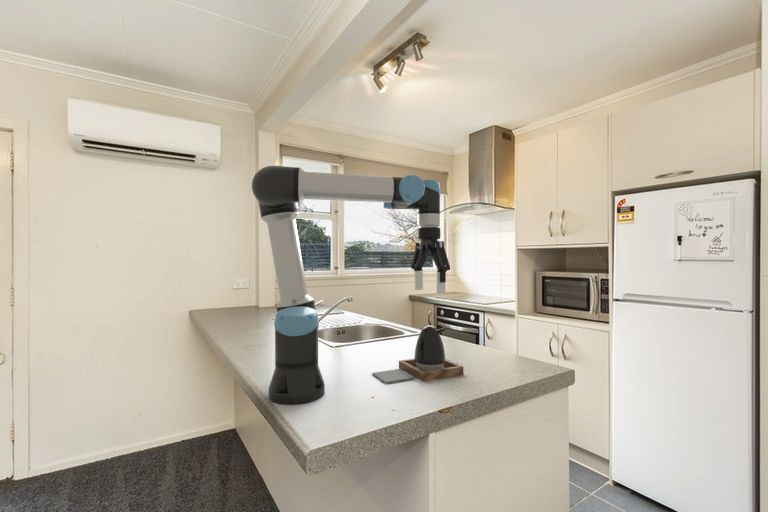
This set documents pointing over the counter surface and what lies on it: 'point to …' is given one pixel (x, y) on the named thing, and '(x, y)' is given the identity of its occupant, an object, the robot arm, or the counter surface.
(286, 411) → the counter surface
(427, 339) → the pump dispenser
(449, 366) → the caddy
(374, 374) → the pad
